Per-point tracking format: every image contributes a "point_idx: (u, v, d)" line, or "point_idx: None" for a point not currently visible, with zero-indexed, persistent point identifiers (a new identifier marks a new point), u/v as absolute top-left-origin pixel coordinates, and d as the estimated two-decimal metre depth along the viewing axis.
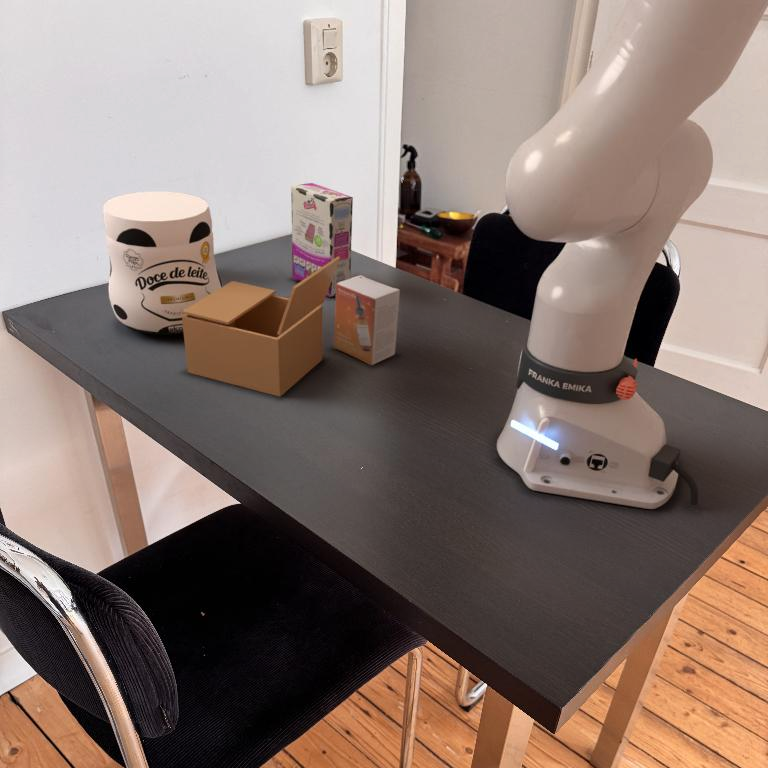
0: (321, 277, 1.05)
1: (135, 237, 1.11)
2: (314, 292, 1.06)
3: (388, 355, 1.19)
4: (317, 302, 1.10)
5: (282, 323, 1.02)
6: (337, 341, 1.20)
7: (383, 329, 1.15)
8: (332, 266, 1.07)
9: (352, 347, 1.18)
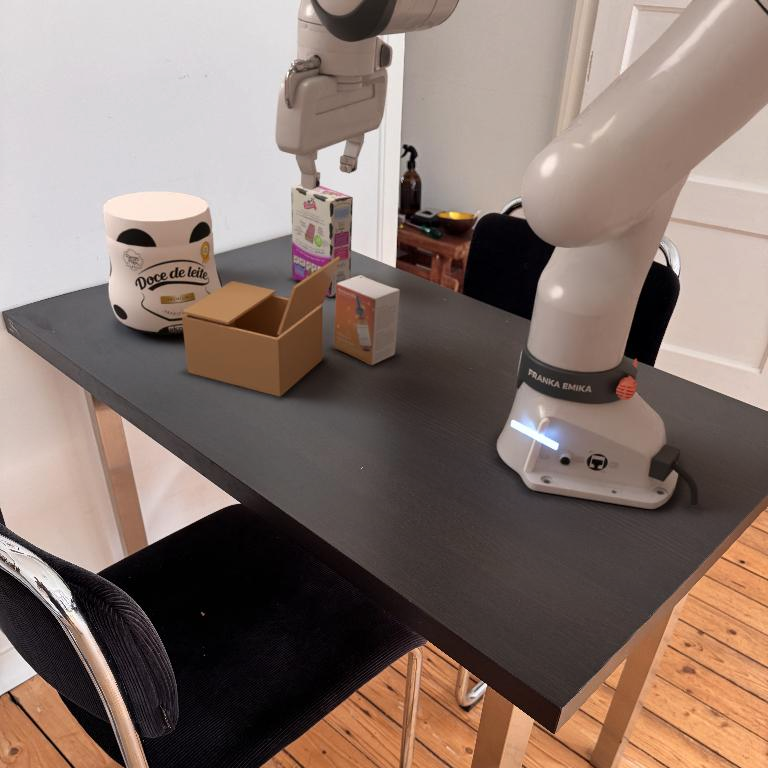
0: (321, 277, 1.05)
1: (135, 237, 1.11)
2: (314, 292, 1.06)
3: (388, 355, 1.19)
4: (317, 302, 1.10)
5: (282, 323, 1.02)
6: (337, 341, 1.20)
7: (383, 329, 1.15)
8: (332, 266, 1.07)
9: (352, 347, 1.18)
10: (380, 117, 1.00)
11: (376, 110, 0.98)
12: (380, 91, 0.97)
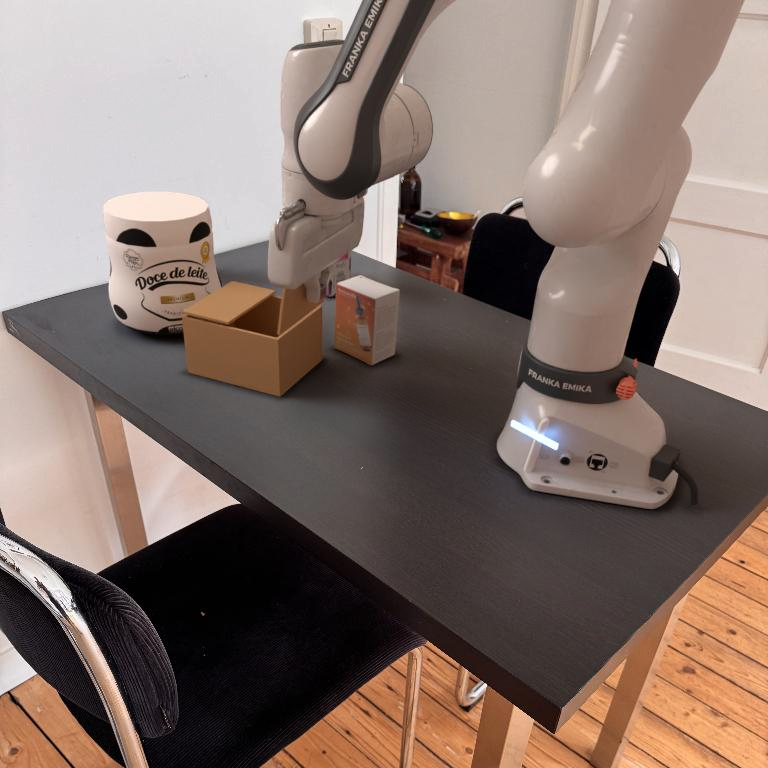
0: None
1: (135, 237, 1.11)
2: None
3: (388, 355, 1.19)
4: None
5: (280, 322, 1.02)
6: (337, 341, 1.20)
7: (383, 329, 1.15)
8: None
9: (352, 347, 1.18)
10: (359, 236, 1.07)
11: (355, 232, 1.06)
12: (358, 215, 1.05)
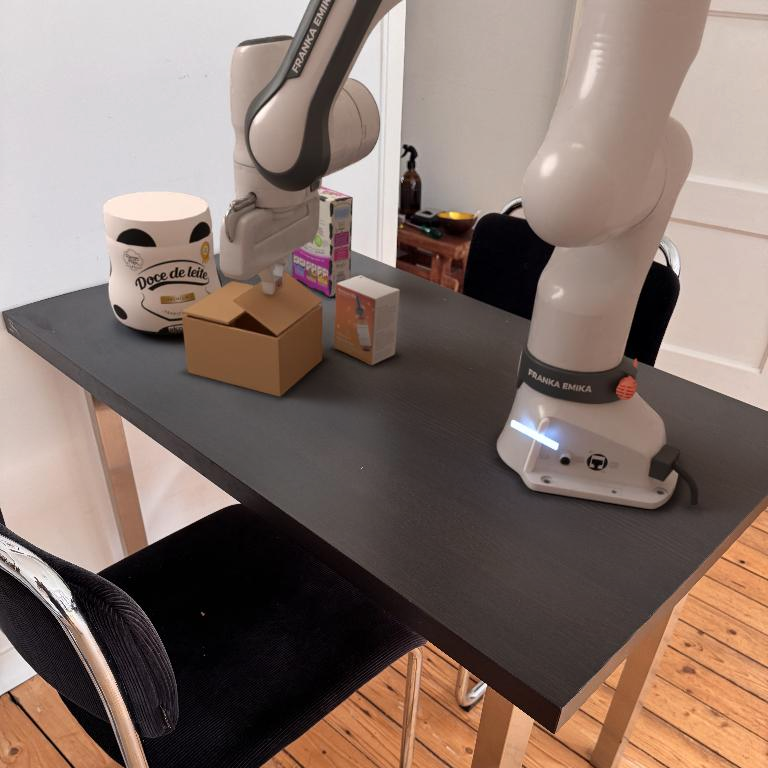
0: None
1: (135, 237, 1.11)
2: (284, 296, 1.08)
3: (388, 355, 1.19)
4: (309, 302, 1.10)
5: (266, 326, 1.03)
6: (337, 341, 1.20)
7: (383, 329, 1.15)
8: None
9: (352, 347, 1.18)
10: (315, 230, 1.09)
11: (311, 225, 1.08)
12: (313, 208, 1.07)
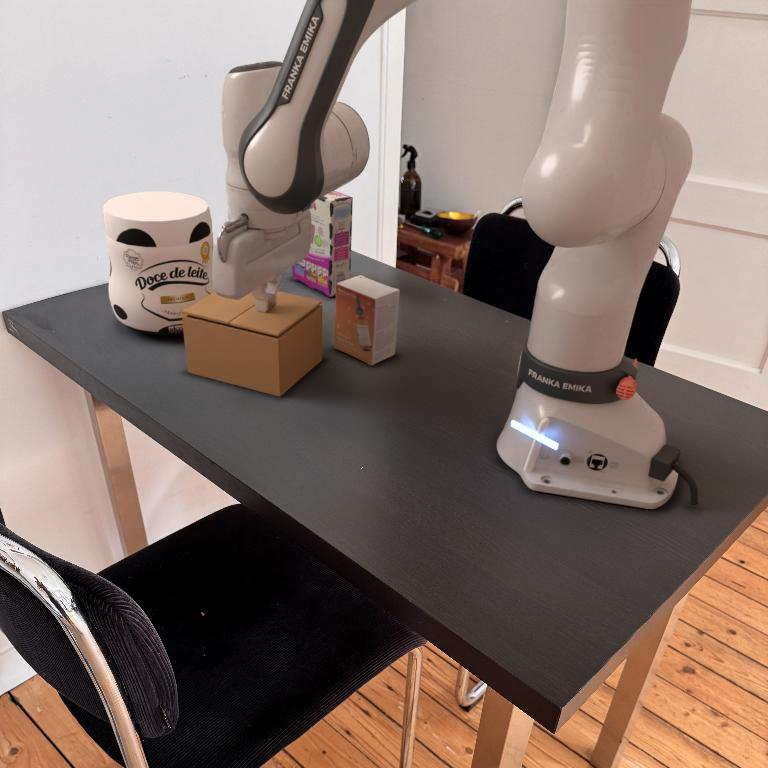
0: None
1: (135, 237, 1.11)
2: (280, 308, 1.09)
3: (388, 355, 1.19)
4: (308, 305, 1.11)
5: (265, 332, 1.03)
6: (337, 341, 1.20)
7: (383, 329, 1.15)
8: None
9: (352, 347, 1.18)
10: (307, 248, 1.11)
11: (303, 243, 1.10)
12: (305, 227, 1.09)
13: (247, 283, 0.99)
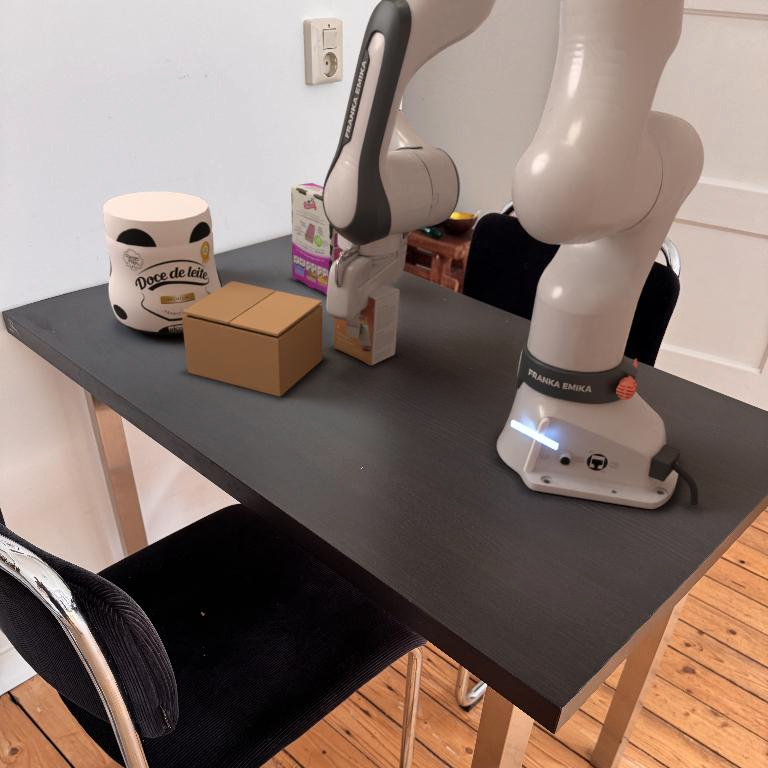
0: (268, 303, 1.10)
1: (135, 237, 1.11)
2: (280, 308, 1.09)
3: (387, 355, 1.19)
4: (308, 305, 1.11)
5: (265, 332, 1.03)
6: (337, 341, 1.20)
7: (383, 329, 1.15)
8: (274, 296, 1.13)
9: (351, 347, 1.18)
10: (402, 270, 1.21)
11: (398, 266, 1.19)
12: (402, 252, 1.18)
13: (357, 305, 1.08)
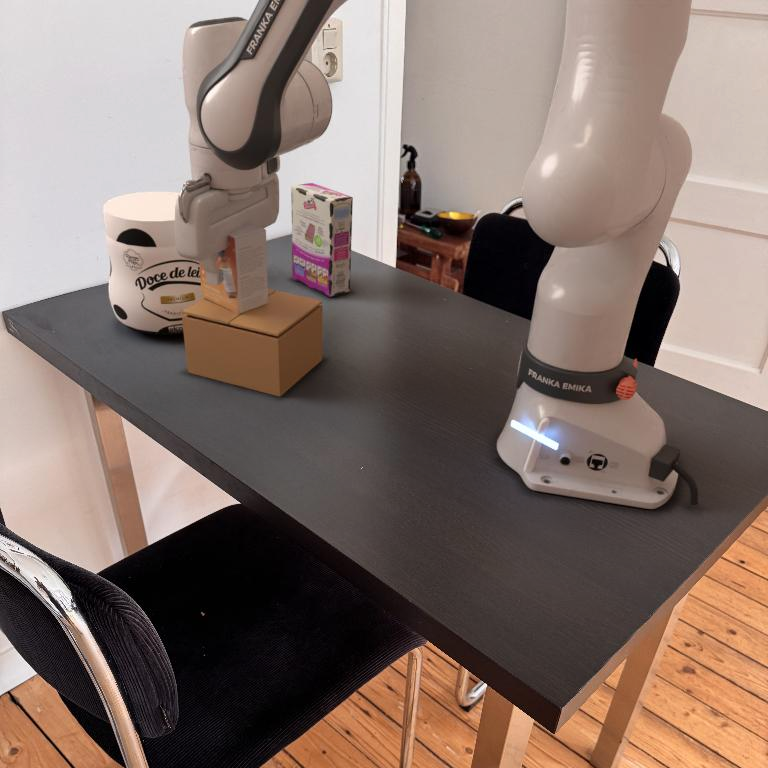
0: (268, 303, 1.10)
1: (135, 237, 1.11)
2: (280, 308, 1.09)
3: (259, 304, 1.09)
4: (308, 305, 1.11)
5: (265, 332, 1.03)
6: (204, 289, 1.09)
7: (249, 273, 1.05)
8: (274, 296, 1.13)
9: (218, 294, 1.08)
10: (276, 213, 1.10)
11: (271, 208, 1.09)
12: (273, 192, 1.08)
13: (210, 244, 0.98)
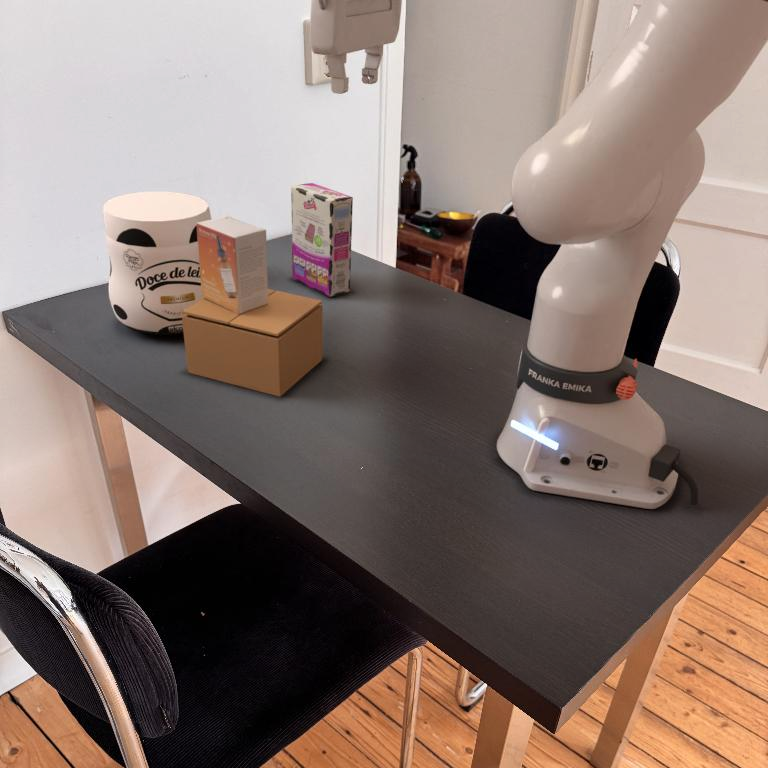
0: (268, 303, 1.10)
1: (135, 237, 1.11)
2: (280, 308, 1.09)
3: (259, 304, 1.09)
4: (308, 305, 1.11)
5: (265, 332, 1.03)
6: (204, 289, 1.09)
7: (249, 273, 1.05)
8: (274, 296, 1.13)
9: (218, 294, 1.08)
10: (396, 30, 1.07)
11: (393, 22, 1.06)
12: (396, 4, 1.05)
13: (344, 39, 0.95)
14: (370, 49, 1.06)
